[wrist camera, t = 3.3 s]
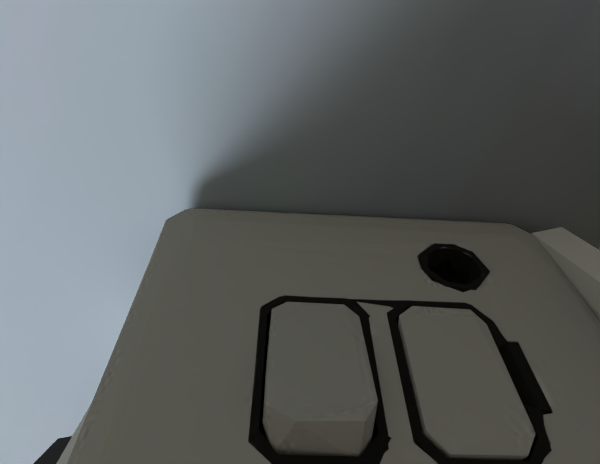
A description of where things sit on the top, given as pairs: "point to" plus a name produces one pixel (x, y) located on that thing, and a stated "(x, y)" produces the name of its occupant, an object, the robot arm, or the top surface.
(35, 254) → the top surface
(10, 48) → the top surface
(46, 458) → the robot arm
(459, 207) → the top surface
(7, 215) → the top surface
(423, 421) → the electrical switch
